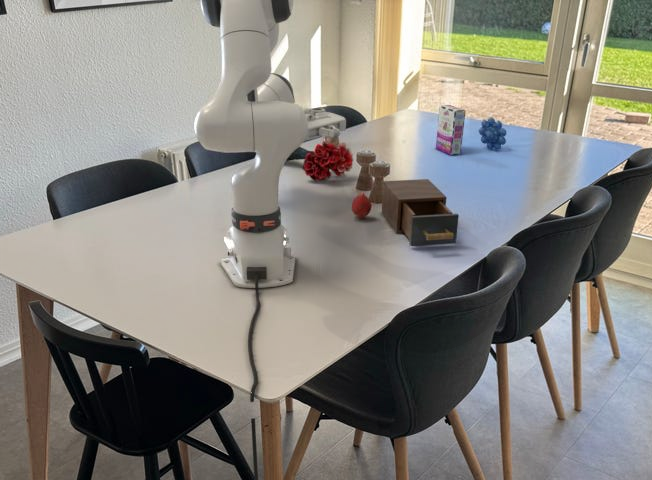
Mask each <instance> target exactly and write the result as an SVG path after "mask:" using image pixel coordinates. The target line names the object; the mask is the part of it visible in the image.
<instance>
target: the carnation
mask: <svg viewBox="0 0 652 480" xmlns="http://www.w3.org/2000/svg"><path fill="white" fill-rule="evenodd" d="M346 145H347V144H346V143H345V142H341V143H339V145H338V147H335V145H334V144H333V143H332V144H329V143H325V142H324V143H323V146H321V143H318V144H316V145H315V148H314V150H308V149H306V148H304V147H302V146H300V147H298V148H297V149H296V150H295V151H293V152H292V153H291V155H290V156H289V157H288V158H287V160H286V161H285V162H289V161H290V162H291V161H299V160H300V161H301V160H304V161H303V164H302V170H303V171H304V173H305V175H306V176H309V178H310V179H311V180H313V181H314V182H315V181H322V180H325V179H326V178H330V177H332V172H333V173H334V175H335V176H337V177H340V178H341V177H342V176H345V172H346V173H347V172H348V173H349V172H350V171H351V170H352V169H353V161H354V158H353V152H352V150H351V148H350V147H347V146H346ZM331 171H332V172H331Z"/></svg>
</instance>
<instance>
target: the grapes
mask: <svg viewBox="0 0 652 480" xmlns="http://www.w3.org/2000/svg"><path fill="white" fill-rule="evenodd" d="M480 123H481V127H479V129H478V134H479V135H480V136H481V137H480V142H481V143H482V144H483V145H486V147H487V149H488V150H493V149H495V150H497V151H499V150H501V148H502V146H504V145H505V144H506V143H507V139H506V136H507V130H506V128H504V127H503V123H502V121H501V120H496V119H495V118H494V117H492V116H491V117H488V118H487V119H483V120H482V121H481V122H480Z"/></svg>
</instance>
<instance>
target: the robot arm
mask: <svg viewBox="0 0 652 480" xmlns="http://www.w3.org/2000/svg"><path fill="white" fill-rule="evenodd" d="M199 3H200V9H201V12H202V15H203V17H204V19H205V20H206V22H207V23H208V24H209V25H210V26H212V27H215V28H219V30H220V32H219V35H220V49H221V50H220V52H221V75H220V80H219V83H218V84H219V85H218V87H217V89H216V91H215V92H214V94H213V95H212V97H211V98H210V99H209V100H208V101H207V102H206V103H205V104H204V105H202V106H201V107H200V108H199V110H198V111H197V113H196V116H195V119H194V133H195V137H196V138H197V141H198V142H199V144H200V145H201V146H202V147H203V148H204V149H205V150H207V151H213V152H218V153H224V154H225V153H255V157H254V158H253V159H252V161H250V162H249V163H247V164H245V165H243V166H241V167H240V168H238V169H237V170H236V171H235V172H234V173H233V175H232V178H231V183H230V184H231V199H232V207H231V214H230V217H231V224H232V225H231V227H230V228H229V229H228V230H227V231H226V236H224V237H223V238H224V240H223V241H224V242H225V244H226V247H227V257H224V258H222V259H221V260H220V265H221V267H222V268H223V270H224V272H225V273H226V274H227V276H228V277H229V279H230V280H231V282H232V284H233V285H234V286H235V287H238V288H243V289H244V288H246V289H247V288H248V289H254V293H255V301H256V306H255V310H254V313H253V315H252V318H251V320H250V324H249V328H248V335H247V348H248V349H247V351H248V359H249V364H250V368H251V371H252V376H253V383H252V386H251V389H250V395H249V402H251V403H254V402H255V393H256V390H257V389H256V388H257V386H258V380H259V379H258V371H257V368H256V365H255V361H254V355H253V346H252V337H253V330H254V327H255V326H254V325H255V322H256V319H257V316H258V314H259V310H260V305H261V302H260V293H259V292H260V291H259V289H263V288H273V287H281V286H286V285H288V284H291V283H293V281H294V275H295V267H296V256H295V254H293V253H292V247H291V246H288V245H287V244H289V243H290V237H288V236H287V227H285V226H284V225H282V211H281V207H280V206H279V187H280V186H279V185H280V176H281V172H282V170H283V167H284V165H285V163H286V162H287V161H286V160H287V158H288V157H289V156H290V155H291V153H292V152H293V151H295V150H296V149H297V148H298V147H302V144H304V142H305V141H310V140H313V139H318V138H322V136H329V137H335V136H338V137H339V136H341V133H342V132H345V131H346V128H347V119H346V118H345V116H343V115H339V114H336V113H334V112H330V111H326V109H325V108H319V107H318V108H317V107H316V108H315V107H314V108H309V107H303V106H300V105H299V104H298V103H296V99H295V94H294V89H293V86H292V84H291V83H290V81H289V80H288V79H287V77H285V76H283V75H281V74H278V73H275V72H272V57H271V54H272V52H273V51H274V49H275V48H276V46H277V44H278V42H279V35H280V23H283V22H285V21H288V20H289V18H291V15H292V11H293V7H294V0H199ZM251 392H252V393H251ZM250 423H251V441H252V442H251V443H252V444H251V445H252V461H253V478H254V480H259V471H258V470H259V469H258V451H257V435H256V434H257V433H256V431H257V430H256V429H257V428H256V417H255V418H253V417H252V418H251V419H250Z"/></svg>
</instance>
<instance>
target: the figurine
mask: <svg viewBox="0 0 652 480" xmlns="http://www.w3.org/2000/svg"><path fill="white" fill-rule="evenodd" d="M339 138H340V137H339V136H335V137H329V136H322V137H321V140H320V145H321V146H323V143H324V142H325V143H329V144H332V143H333V144H334V145H335V147H338V145H339V144H340V139H339Z"/></svg>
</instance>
